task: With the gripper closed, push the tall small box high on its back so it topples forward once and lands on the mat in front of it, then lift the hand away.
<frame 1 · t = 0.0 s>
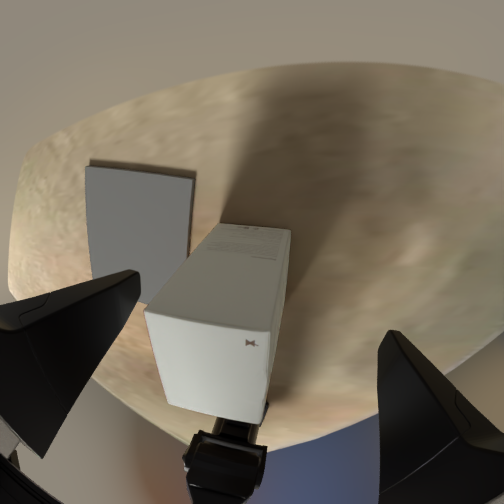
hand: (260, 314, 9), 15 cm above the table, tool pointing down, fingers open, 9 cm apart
small box: (252, 266, 26), on the table
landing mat: (134, 240, 27), on the table
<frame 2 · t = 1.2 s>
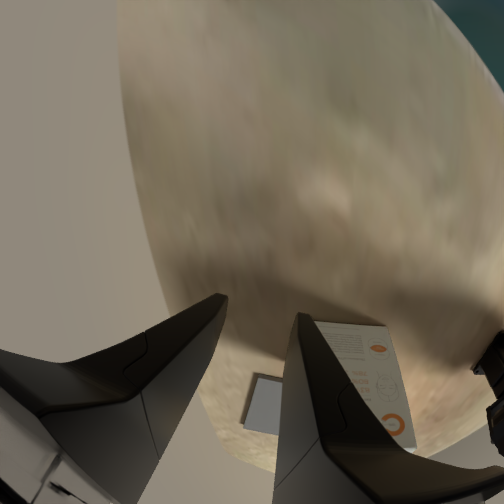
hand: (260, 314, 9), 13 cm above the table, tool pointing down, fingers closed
small box: (340, 346, 26), on the table
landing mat: (305, 413, 30), on the table
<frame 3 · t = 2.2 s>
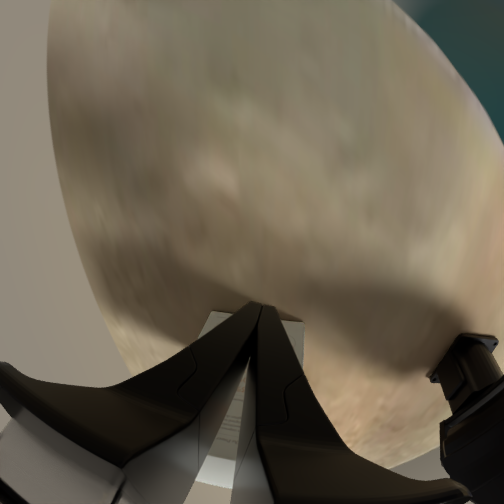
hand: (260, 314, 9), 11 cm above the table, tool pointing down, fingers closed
small box: (256, 341, 25), on the table
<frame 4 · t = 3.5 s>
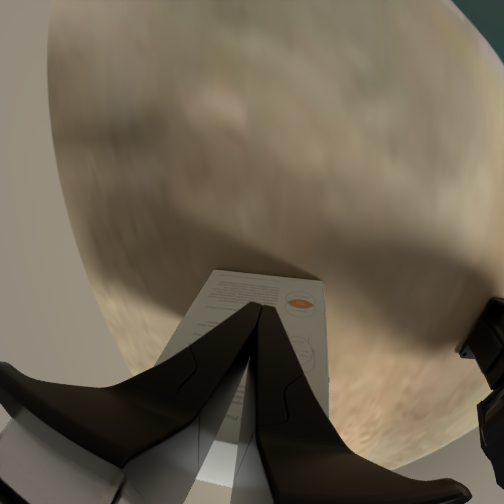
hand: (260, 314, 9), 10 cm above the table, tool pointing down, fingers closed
small box: (266, 308, 22), on the table
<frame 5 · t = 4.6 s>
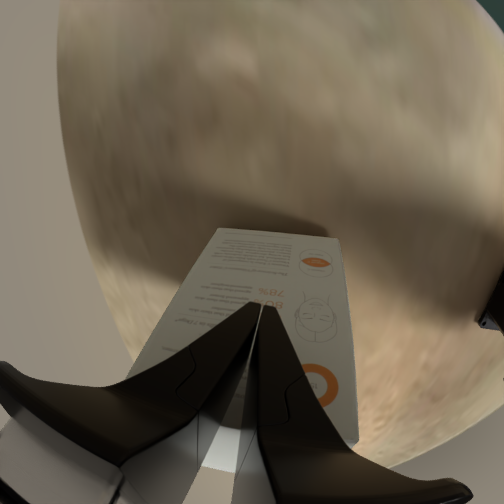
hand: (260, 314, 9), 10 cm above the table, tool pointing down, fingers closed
small box: (276, 270, 20), on the table
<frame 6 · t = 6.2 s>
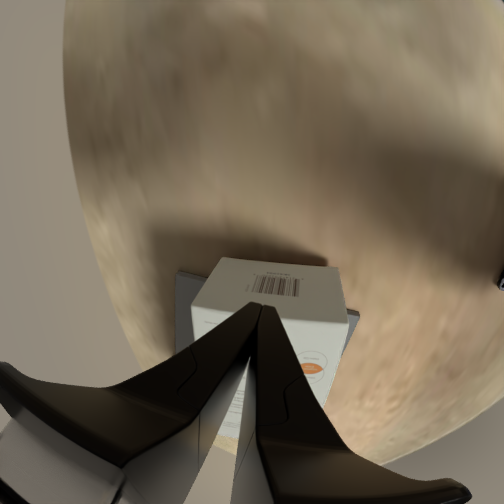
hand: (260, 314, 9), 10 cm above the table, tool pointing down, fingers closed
small box: (276, 279, 16), point 4 cm above the table, touching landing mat
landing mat: (255, 350, 23), on the table
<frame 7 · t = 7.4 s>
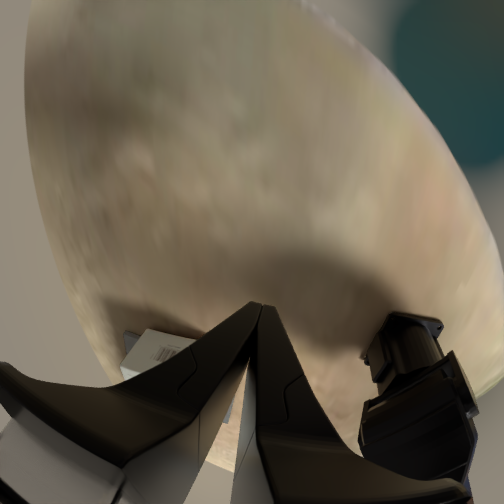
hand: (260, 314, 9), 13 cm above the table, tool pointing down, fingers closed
small box: (168, 352, 25), point 4 cm above the table, touching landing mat
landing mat: (179, 381, 32), on the table
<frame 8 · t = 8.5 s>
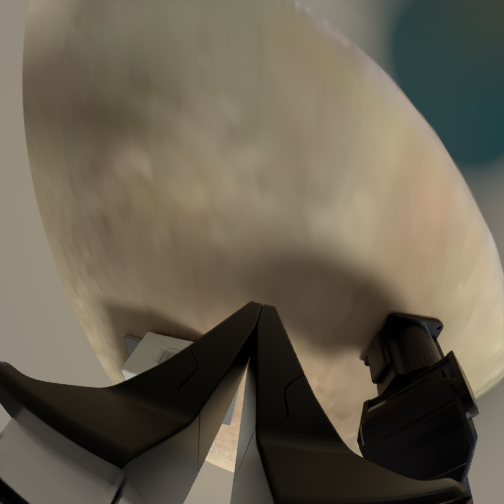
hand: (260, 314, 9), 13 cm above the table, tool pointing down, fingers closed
small box: (169, 355, 25), point 4 cm above the table, touching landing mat
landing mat: (181, 384, 32), on the table
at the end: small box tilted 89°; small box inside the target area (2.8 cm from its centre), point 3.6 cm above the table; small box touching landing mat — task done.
